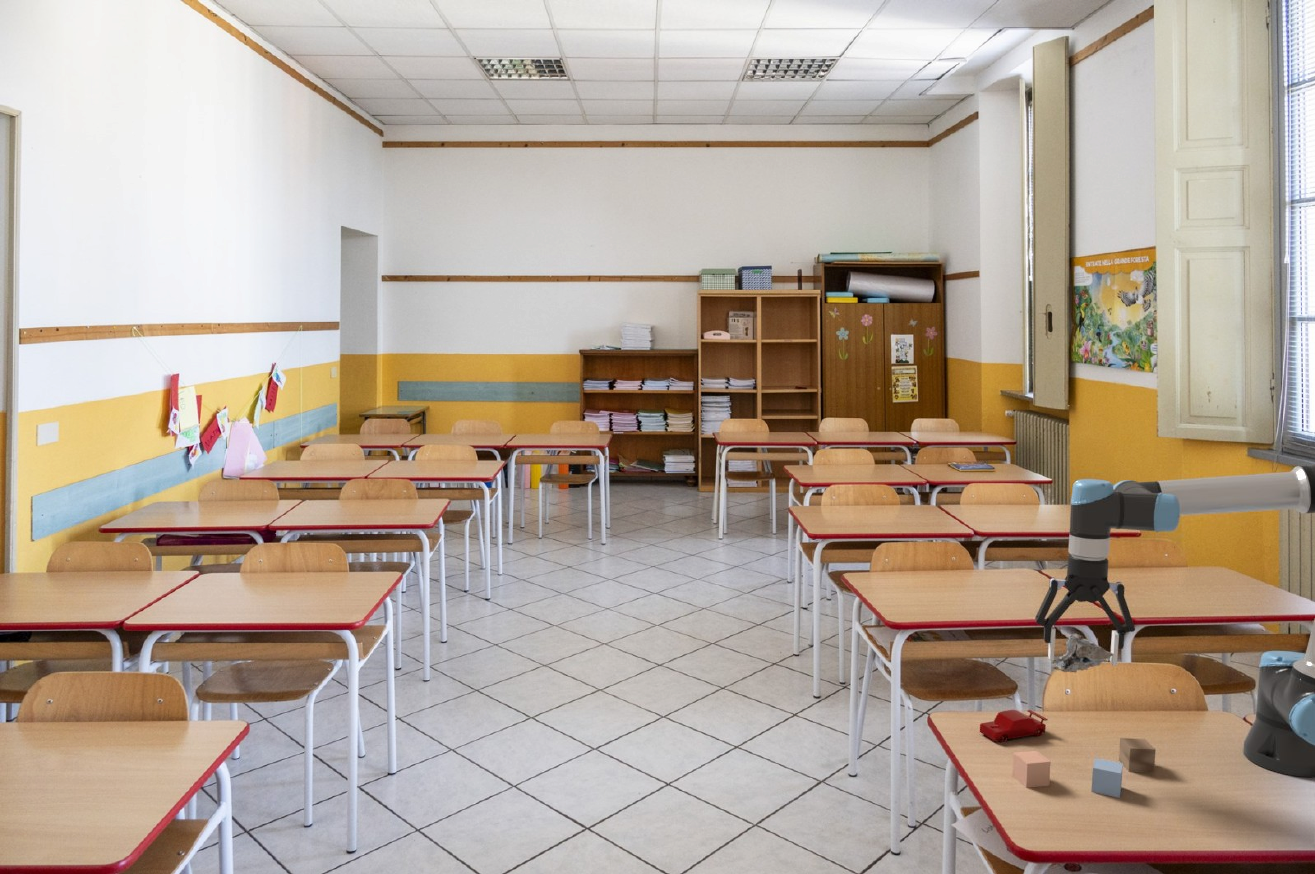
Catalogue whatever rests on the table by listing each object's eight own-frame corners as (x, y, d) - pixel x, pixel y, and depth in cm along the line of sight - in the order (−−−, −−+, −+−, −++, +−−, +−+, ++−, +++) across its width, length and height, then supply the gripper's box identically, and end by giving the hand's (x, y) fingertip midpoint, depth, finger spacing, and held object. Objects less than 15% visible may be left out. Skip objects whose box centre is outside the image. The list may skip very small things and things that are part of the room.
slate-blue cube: (1121, 787, 191) (1122, 763, 190) (1119, 798, 186) (1121, 773, 186) (1093, 781, 193) (1094, 757, 193) (1091, 792, 189) (1092, 767, 188)
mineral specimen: (1068, 687, 201) (1093, 691, 191) (1038, 661, 202) (1061, 664, 192) (1095, 652, 203) (1121, 654, 193) (1065, 625, 203) (1090, 626, 194)
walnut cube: (1143, 761, 202) (1145, 738, 202) (1153, 772, 197) (1155, 749, 197) (1118, 760, 203) (1120, 737, 202) (1128, 771, 198) (1130, 748, 197)
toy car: (1029, 726, 220) (1030, 706, 219) (1047, 736, 215) (1048, 715, 214) (978, 735, 215) (979, 714, 215) (995, 745, 210) (996, 723, 209)
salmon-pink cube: (1034, 774, 196) (1036, 750, 195) (1049, 785, 191) (1050, 761, 191) (1012, 776, 195) (1013, 752, 195) (1026, 787, 190) (1027, 763, 190)
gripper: (1147, 555, 197) (1140, 659, 199) (1024, 548, 202) (1018, 649, 205) (1156, 564, 189) (1149, 672, 192) (1028, 556, 195) (1023, 661, 198)
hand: (1082, 660), depth 198 cm, fingers closed on mineral specimen, 11 cm apart
